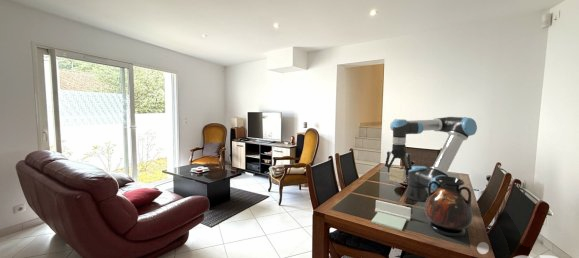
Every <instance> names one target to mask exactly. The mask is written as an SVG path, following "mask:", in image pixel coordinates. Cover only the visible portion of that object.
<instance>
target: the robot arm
mask: <svg viewBox="0 0 579 258" xmlns="http://www.w3.org/2000/svg"><path fill="white" fill-rule="evenodd" d="M390 130H391V131H392V145H391V147H392V149H391V151H389V150H388V151H387V152H386V159H385V164H384V166H385V167H387V173H389V174H388V175H389V177H388V178H389V179H390V168H391V167H392V166H393V163H394V161H395V160H396V159H400V160H401V162H402V163H403V167H405V170H404V180H405V181H406V180H408V182H407V184H408V185H407V187H406V189H405V192H404V193H405V194H404V196H405V197H406V198H407V199H409V200H413V201H418V202H426V199H427V197H428V187H429V183H430V182H431V181H435V182H437V183H438V184H439V182H438V181H436V180H435V178H436V177H438V176H448V177H449V173H448V171H449V169H450V167H451V165H452V164H453V161H454V159H455V158H456V155H457V153H458V151H459V150H460V147H461V145H462V144H463V142H464V141H467V140H468V138H469V137H471V136H473V135H475V134H476V133H477V130H478V125H477V122H476V121H475V120H474V118H471V117H465V116H464V117H462V116H446V117H435V118H433V119H421V120H417V119H415V120H407V119H402V118H401V119H399V118H398V119H394V120H393V121H391V123H390ZM425 131H434V132H442V133H446V134H448V136H447V139H446V140H445V143H444V144H443V146H442V148H441V150H440V152H439V154H438V156H437V157H436V159H435V161H434V164H433V165H432V166H429V167H427V166H424V165H412V161H411V160H412V159H411V156H412V154H411V153H408V152H406V146H407V145H406V143H407V135H419V134H422V133H424V132H425ZM391 155H392V159H391V160H390V157H391ZM405 156H406V157H407V162H406V159H405ZM389 161H390V162H389ZM407 176H408V179H407ZM436 189H437V185H436V184H432V185H431V192H433V191H435V190H436Z"/></svg>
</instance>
